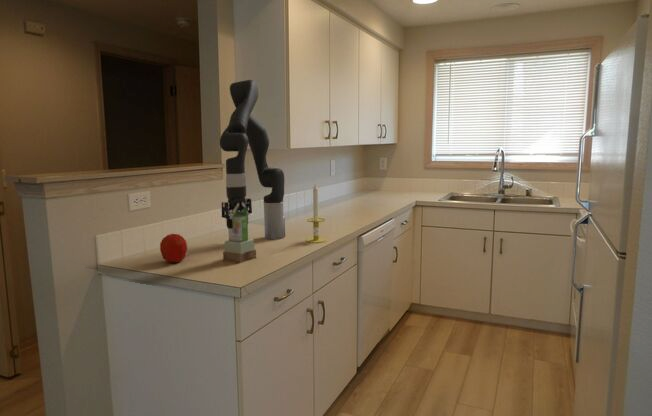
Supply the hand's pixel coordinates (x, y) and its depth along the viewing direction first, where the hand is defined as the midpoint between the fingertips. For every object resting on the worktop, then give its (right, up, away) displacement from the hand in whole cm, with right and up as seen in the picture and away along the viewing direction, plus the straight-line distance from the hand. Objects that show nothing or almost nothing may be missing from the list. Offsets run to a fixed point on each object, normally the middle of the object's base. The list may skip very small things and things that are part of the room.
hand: (237, 226), depth 180 cm
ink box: (0, -6, +1) cm, 6 cm away
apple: (-25, -14, -1) cm, 28 cm away
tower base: (0, -13, +2) cm, 14 cm away
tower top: (0, -9, +2) cm, 10 cm away
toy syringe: (+30, -8, +33) cm, 46 cm away
